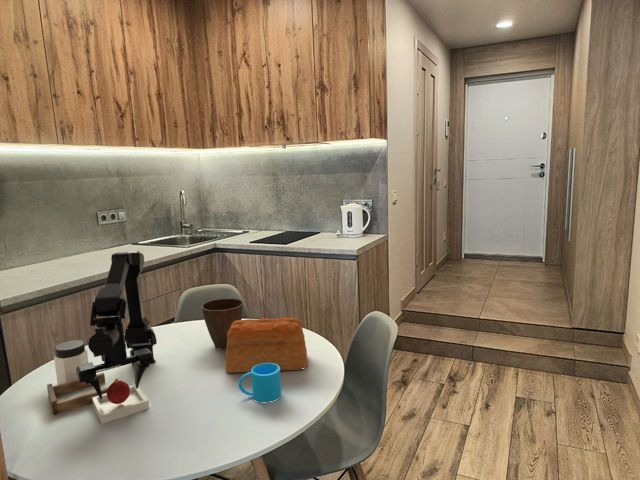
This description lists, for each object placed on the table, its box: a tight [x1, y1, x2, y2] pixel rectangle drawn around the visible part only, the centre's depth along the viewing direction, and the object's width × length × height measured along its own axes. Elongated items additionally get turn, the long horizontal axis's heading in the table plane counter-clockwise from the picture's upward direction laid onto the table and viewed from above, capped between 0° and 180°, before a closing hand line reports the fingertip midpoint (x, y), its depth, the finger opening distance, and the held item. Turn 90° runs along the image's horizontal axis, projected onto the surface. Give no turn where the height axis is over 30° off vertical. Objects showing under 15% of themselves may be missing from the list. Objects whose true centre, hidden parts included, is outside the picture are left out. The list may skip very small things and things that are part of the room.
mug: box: [237, 363, 282, 403], centre depth 124 cm, size 12×8×8 cm
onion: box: [107, 378, 130, 404], centre depth 119 cm, size 6×6×8 cm
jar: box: [53, 339, 89, 385], centre depth 136 cm, size 9×8×12 cm
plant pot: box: [201, 298, 244, 350], centre depth 160 cm, size 15×15×16 cm
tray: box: [92, 384, 150, 425], centre depth 121 cm, size 12×12×2 cm
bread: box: [224, 317, 308, 374], centre depth 144 cm, size 14×27×15 cm, turn 92°
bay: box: [46, 372, 109, 416], centre depth 126 cm, size 15×12×4 cm
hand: (119, 393), depth 120 cm, fingers open, 9 cm apart
